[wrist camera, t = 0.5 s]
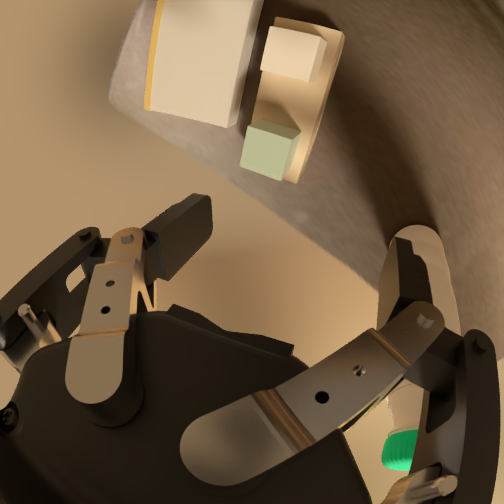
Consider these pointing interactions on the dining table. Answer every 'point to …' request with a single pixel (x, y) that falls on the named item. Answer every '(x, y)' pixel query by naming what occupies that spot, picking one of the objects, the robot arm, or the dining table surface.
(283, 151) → the block
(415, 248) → the water bottle
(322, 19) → the dining table surface
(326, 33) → the pallet
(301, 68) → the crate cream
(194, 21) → the dock
